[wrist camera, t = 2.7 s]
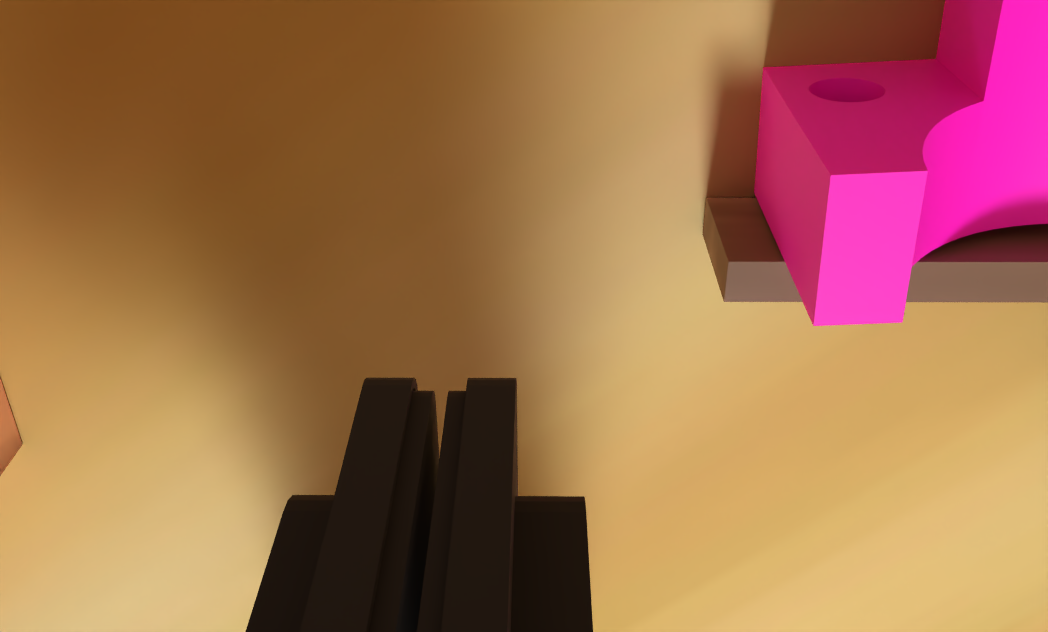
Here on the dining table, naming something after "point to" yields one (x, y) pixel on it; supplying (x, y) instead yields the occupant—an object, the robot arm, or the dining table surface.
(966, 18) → the toy block
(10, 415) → the planter frame
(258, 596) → the robot arm
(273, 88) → the dining table surface
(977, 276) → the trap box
